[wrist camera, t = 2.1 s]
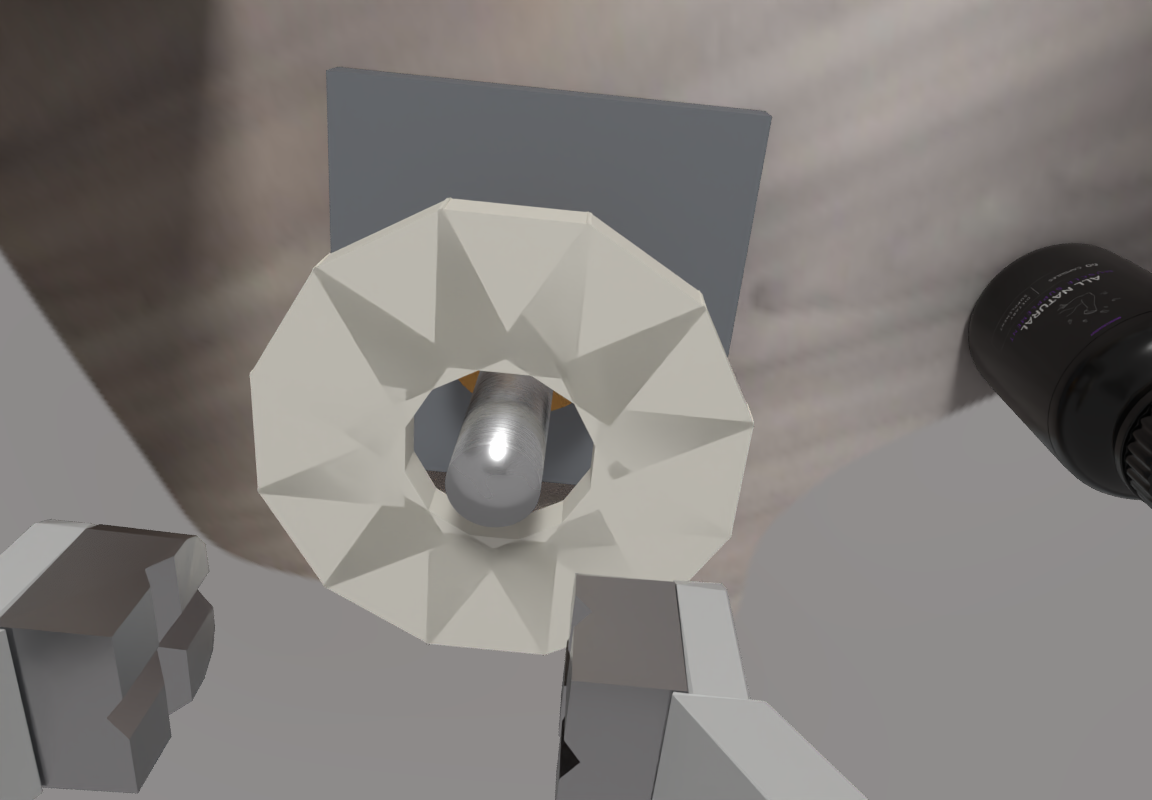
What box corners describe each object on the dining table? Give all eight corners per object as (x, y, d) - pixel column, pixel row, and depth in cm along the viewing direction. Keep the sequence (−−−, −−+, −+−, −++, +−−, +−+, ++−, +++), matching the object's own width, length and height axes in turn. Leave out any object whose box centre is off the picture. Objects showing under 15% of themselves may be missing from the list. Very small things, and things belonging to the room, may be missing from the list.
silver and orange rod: (623, 234, 33) (635, 383, 20) (604, 386, 36) (605, 601, 23) (455, 217, 33) (364, 356, 20) (450, 371, 36) (365, 578, 23)
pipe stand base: (764, 111, 33) (772, 116, 31) (698, 479, 39) (702, 497, 38) (337, 67, 32) (326, 70, 31) (345, 445, 39) (336, 461, 38)
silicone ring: (782, 230, 21) (791, 243, 20) (700, 643, 27) (704, 670, 26) (253, 177, 21) (235, 187, 20) (280, 603, 27) (267, 629, 26)
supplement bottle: (1003, 221, 34) (1190, 329, 23) (1166, 259, 34) (1424, 381, 24) (935, 378, 37) (1073, 538, 26) (1086, 411, 37) (1284, 582, 26)
